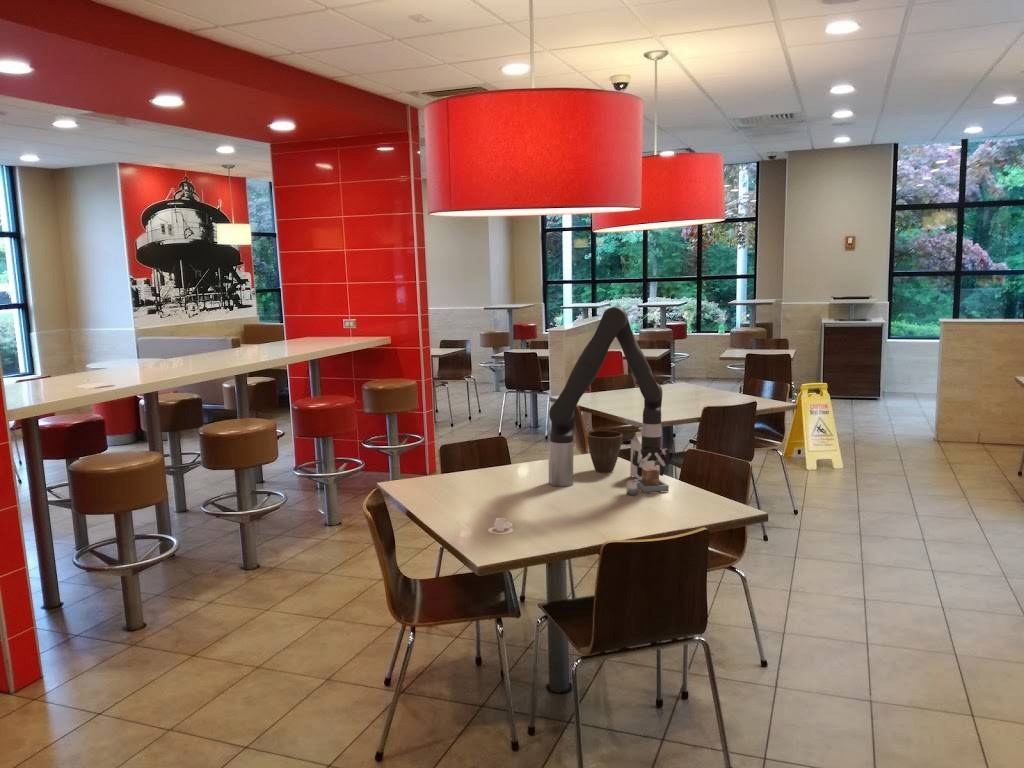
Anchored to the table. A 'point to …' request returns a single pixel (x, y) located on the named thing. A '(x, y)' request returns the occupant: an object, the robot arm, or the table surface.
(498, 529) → the teacup and saucer
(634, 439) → the milk carton
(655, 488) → the slate tray
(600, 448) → the plant pot
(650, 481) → the walnut block
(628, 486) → the metal cylinder
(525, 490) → the table surface
